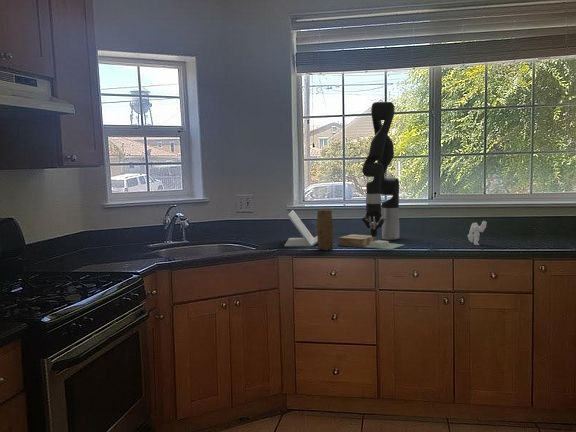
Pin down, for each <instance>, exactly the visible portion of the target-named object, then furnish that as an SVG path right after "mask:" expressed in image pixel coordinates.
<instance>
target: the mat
mask: <svg viewBox="0 0 576 432" xmlns="http://www.w3.org/2000/svg"><path fill="white" fill-rule="evenodd" d="M404 246H405V244H403V243H402V244H399V243H393V242H392V243H391V242H389V245H387V246H384V247H380V248H379V247H369V245H366V246H363V247H362V248H368V249H369V248H370V249H377V250H378V249H381V250H388V251H389V250H390V251H391V250H394V249H397V248H401V247H404Z"/></svg>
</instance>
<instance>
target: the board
mask: <svg viewBox="0 0 576 432" xmlns="http://www.w3.org/2000/svg"><path fill="white" fill-rule="evenodd" d="M376 237H377V236H376ZM376 237H372V235H371V234H369V235H368V234H356V233H353V234H348V235H344V236H339V237H338V238H337V239H338V240H337V241H338V246H342V247H352V248H353V247H354V248H364V247H363V246H366V245H369V243H370V242H374V241H377V239H376Z"/></svg>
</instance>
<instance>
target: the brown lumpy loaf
mask: <svg viewBox="0 0 576 432" xmlns="http://www.w3.org/2000/svg"><path fill="white" fill-rule="evenodd" d="M332 213H333V211H332V209H331V208H319V209H318V210H317V214H316V215H317V217H316V219H317V220H316V222H317V223H316V224H317V225H316V230H317V231H316V234H317V235H316V236H317V237H318V243H317V246H318V250H320V251H322V250H323V251H328V250H329V251H330V250H332V249H334V238H333V237H334V236H333V235H334V230H333V228H334V227H333V214H332Z"/></svg>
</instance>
